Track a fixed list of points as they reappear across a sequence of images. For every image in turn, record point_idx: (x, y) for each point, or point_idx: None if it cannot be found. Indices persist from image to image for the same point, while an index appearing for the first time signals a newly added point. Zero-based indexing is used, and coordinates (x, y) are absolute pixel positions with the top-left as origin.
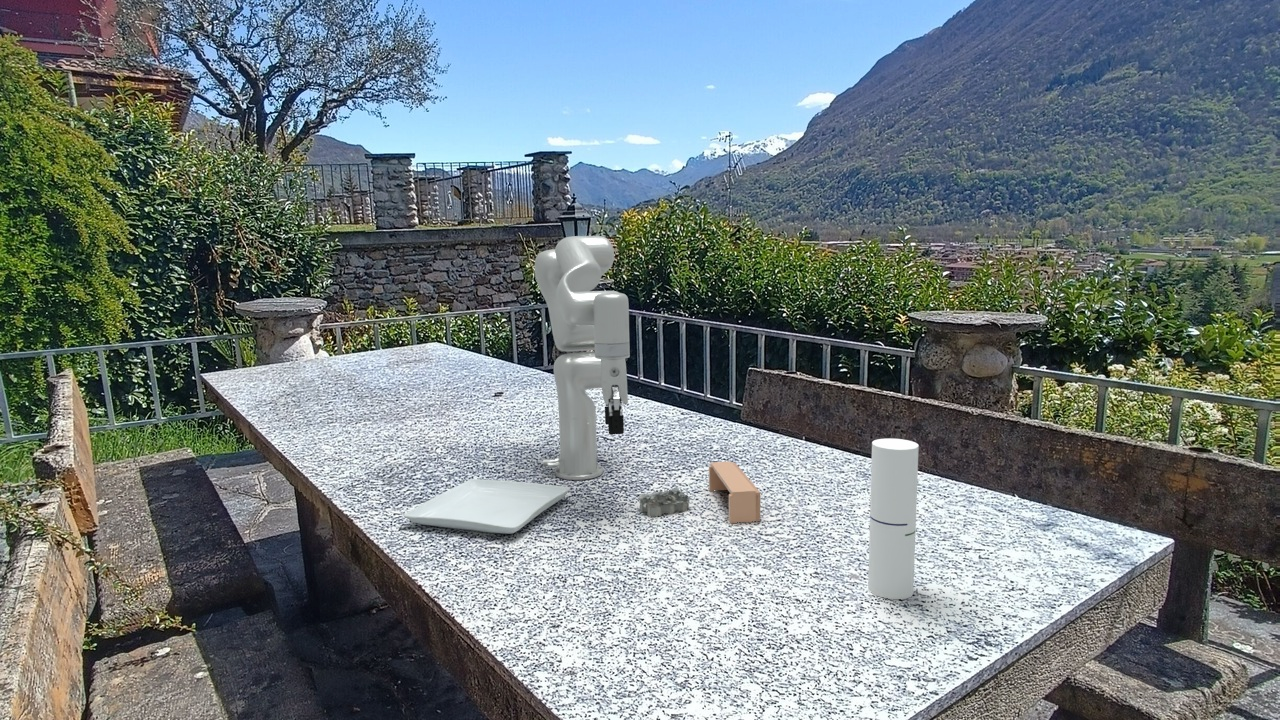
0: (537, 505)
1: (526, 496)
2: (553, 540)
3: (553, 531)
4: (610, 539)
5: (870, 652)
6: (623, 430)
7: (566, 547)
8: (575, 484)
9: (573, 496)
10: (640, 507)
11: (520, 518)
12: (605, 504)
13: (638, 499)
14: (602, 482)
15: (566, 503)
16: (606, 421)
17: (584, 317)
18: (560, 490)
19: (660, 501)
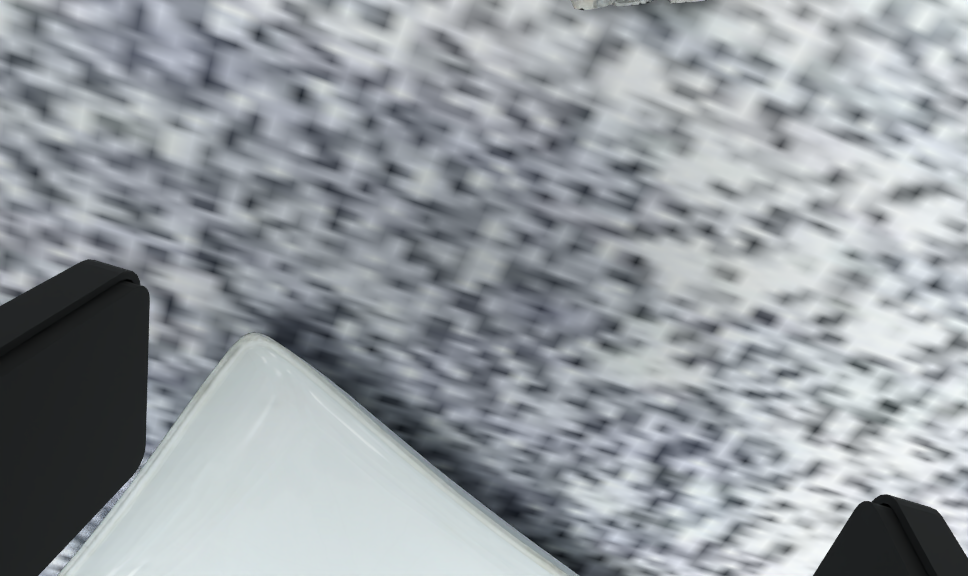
0: (351, 473)
1: (223, 482)
2: (782, 527)
3: (677, 496)
4: (941, 322)
5: None
6: (956, 545)
7: None
8: (35, 200)
9: (233, 273)
10: (619, 1)
11: (491, 571)
12: (416, 161)
13: (579, 2)
14: (17, 38)
15: (330, 337)
16: (114, 482)
17: None
18: (249, 371)
19: None
